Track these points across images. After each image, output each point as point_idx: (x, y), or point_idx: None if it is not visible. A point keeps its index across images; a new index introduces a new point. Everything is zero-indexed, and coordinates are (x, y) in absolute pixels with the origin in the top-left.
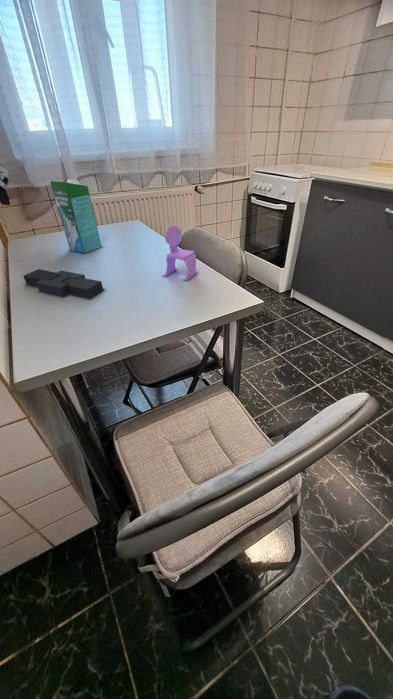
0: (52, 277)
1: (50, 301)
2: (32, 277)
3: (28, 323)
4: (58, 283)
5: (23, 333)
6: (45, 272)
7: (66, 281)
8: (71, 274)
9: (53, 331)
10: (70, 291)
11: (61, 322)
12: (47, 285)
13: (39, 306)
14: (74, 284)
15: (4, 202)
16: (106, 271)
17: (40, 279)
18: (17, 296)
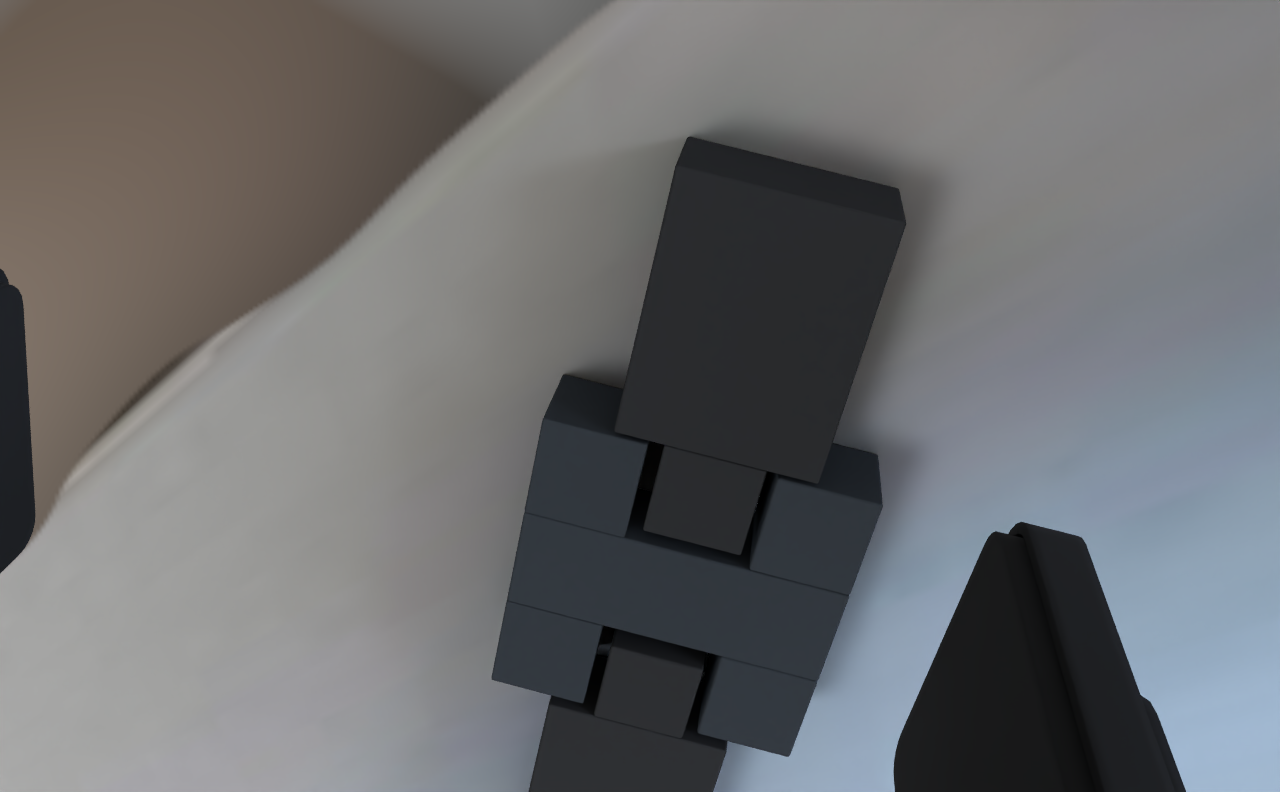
0: (684, 514)
1: (422, 562)
2: (650, 309)
3: (113, 578)
4: (565, 630)
5: (17, 611)
6: (804, 373)
7: (619, 675)
8: (781, 651)
9: (109, 755)
10: None
11: (204, 756)
12: (518, 548)
13: (328, 524)
14: (575, 756)
15: (941, 700)
16: None
17: (615, 425)
18: (424, 225)
